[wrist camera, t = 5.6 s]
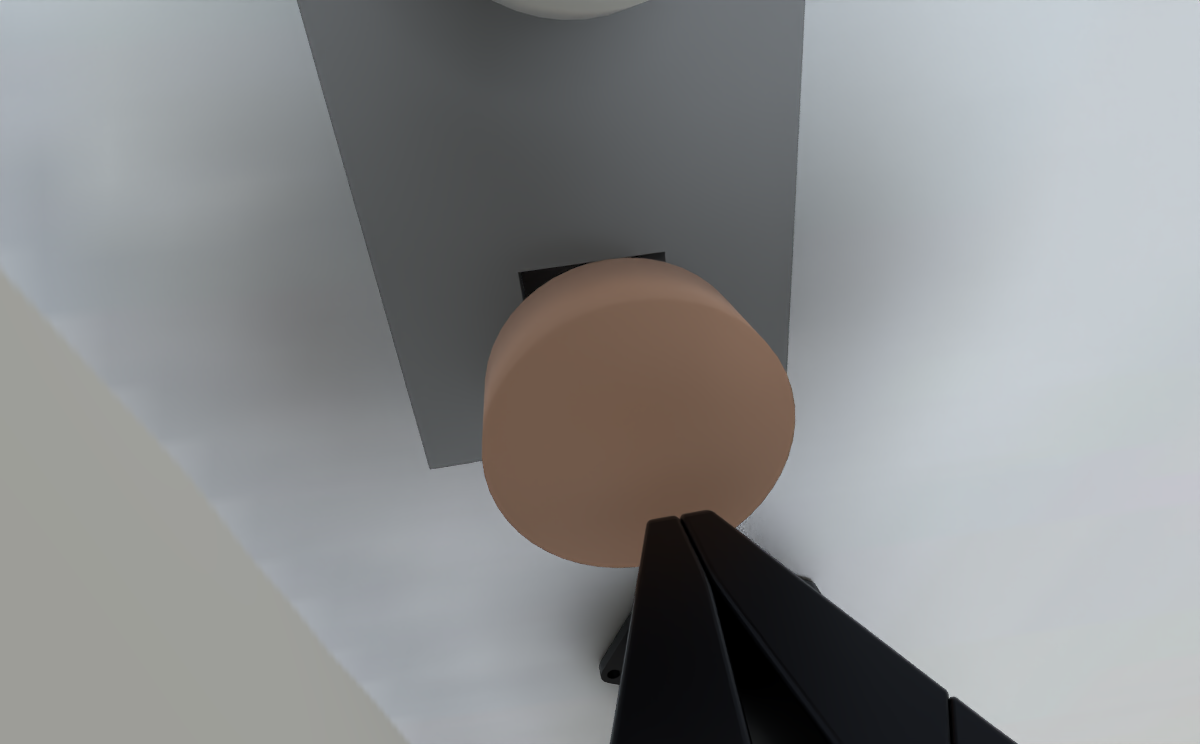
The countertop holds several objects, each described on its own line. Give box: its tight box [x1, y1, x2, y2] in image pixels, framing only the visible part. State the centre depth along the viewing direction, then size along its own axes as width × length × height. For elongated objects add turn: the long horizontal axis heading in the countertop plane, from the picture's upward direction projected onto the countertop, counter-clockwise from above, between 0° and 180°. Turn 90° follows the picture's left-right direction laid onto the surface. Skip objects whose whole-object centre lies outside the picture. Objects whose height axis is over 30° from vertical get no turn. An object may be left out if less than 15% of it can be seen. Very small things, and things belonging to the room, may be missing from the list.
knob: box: [482, 258, 795, 568], centre depth 12 cm, size 5×5×5 cm
